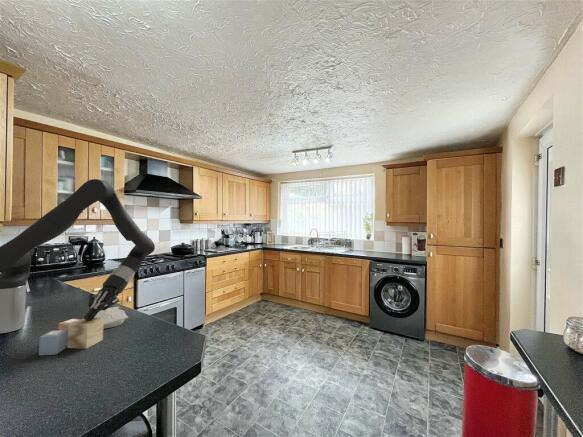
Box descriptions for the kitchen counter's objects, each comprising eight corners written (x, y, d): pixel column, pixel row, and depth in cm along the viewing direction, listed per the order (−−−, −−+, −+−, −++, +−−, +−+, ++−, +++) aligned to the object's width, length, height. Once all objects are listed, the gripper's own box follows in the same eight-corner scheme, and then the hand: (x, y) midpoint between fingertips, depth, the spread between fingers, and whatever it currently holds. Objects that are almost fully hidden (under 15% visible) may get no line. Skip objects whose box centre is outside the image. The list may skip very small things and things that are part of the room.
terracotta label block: (57, 339, 93) (58, 322, 93) (72, 334, 98) (73, 318, 98) (67, 341, 92) (68, 324, 92) (82, 335, 97) (82, 319, 97)
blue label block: (38, 355, 82) (39, 336, 82) (50, 348, 87) (51, 330, 87) (56, 354, 83) (57, 335, 83) (66, 347, 87) (67, 329, 88)
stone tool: (87, 317, 118) (93, 332, 100) (88, 308, 118) (93, 322, 100) (120, 311, 127) (131, 324, 108) (121, 303, 127) (131, 315, 109)
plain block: (67, 348, 87) (68, 324, 87) (85, 338, 94) (85, 317, 94) (86, 348, 86) (87, 325, 87) (102, 339, 93) (103, 318, 94)
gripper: (100, 273, 102) (65, 313, 90) (126, 274, 99) (93, 316, 86) (112, 283, 107) (80, 322, 95) (137, 285, 104) (108, 326, 91)
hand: (87, 319), depth 90 cm, fingers closed
